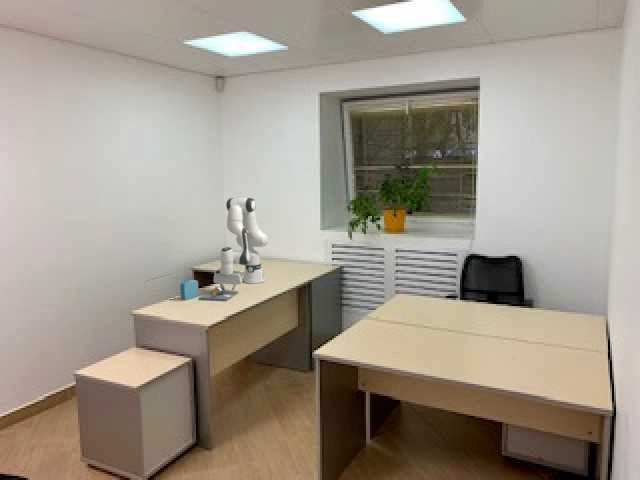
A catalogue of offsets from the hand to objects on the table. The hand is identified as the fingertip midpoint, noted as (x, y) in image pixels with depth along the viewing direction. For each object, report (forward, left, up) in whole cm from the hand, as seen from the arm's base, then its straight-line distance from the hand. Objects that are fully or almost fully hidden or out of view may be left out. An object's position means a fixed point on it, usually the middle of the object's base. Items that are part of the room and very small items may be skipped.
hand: (228, 289), depth 343 cm
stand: (+5, -5, -4) cm, 8 cm away
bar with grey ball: (+5, -5, -2) cm, 7 cm away
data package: (+13, -23, -4) cm, 27 cm away
